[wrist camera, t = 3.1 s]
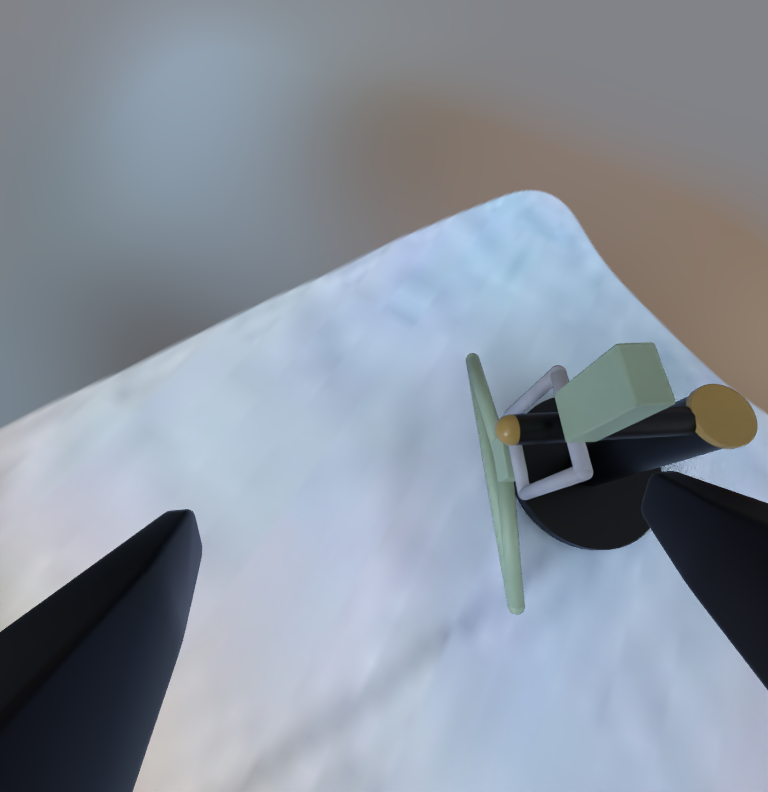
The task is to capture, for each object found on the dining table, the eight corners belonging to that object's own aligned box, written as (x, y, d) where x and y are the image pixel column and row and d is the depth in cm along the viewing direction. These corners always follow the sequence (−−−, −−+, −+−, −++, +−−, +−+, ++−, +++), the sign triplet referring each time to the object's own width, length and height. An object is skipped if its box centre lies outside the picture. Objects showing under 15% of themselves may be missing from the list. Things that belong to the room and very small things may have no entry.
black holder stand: (675, 543, 20) (895, 532, 12) (451, 563, 19) (528, 566, 11) (628, 396, 23) (780, 308, 15) (431, 405, 22) (480, 315, 14)
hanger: (478, 356, 22) (594, 176, 12) (525, 612, 17) (783, 689, 7) (460, 357, 22) (561, 176, 12) (503, 614, 17) (731, 696, 7)
